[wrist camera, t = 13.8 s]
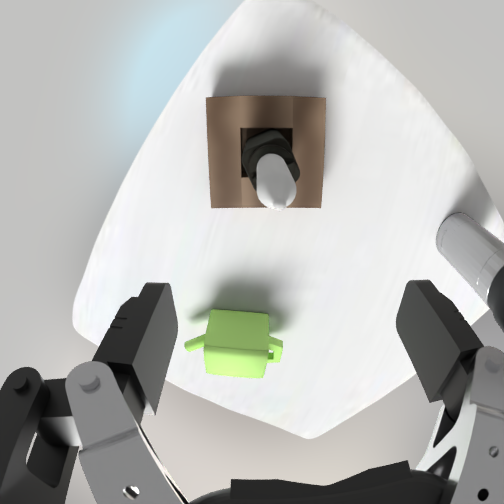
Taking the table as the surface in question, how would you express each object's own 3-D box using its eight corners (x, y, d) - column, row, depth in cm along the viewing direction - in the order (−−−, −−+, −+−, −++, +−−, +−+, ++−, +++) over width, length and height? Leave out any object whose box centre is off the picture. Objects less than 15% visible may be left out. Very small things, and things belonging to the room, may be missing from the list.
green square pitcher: (190, 341, 60) (181, 376, 52) (187, 305, 55) (176, 342, 47) (277, 348, 60) (278, 385, 52) (284, 314, 55) (286, 352, 47)
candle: (290, 158, 41) (330, 226, 19) (257, 171, 42) (258, 253, 20) (276, 125, 39) (303, 153, 17) (243, 139, 40) (225, 185, 18)
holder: (318, 98, 38) (325, 98, 34) (314, 196, 45) (321, 207, 41) (211, 98, 38) (205, 97, 34) (215, 197, 45) (211, 208, 41)
